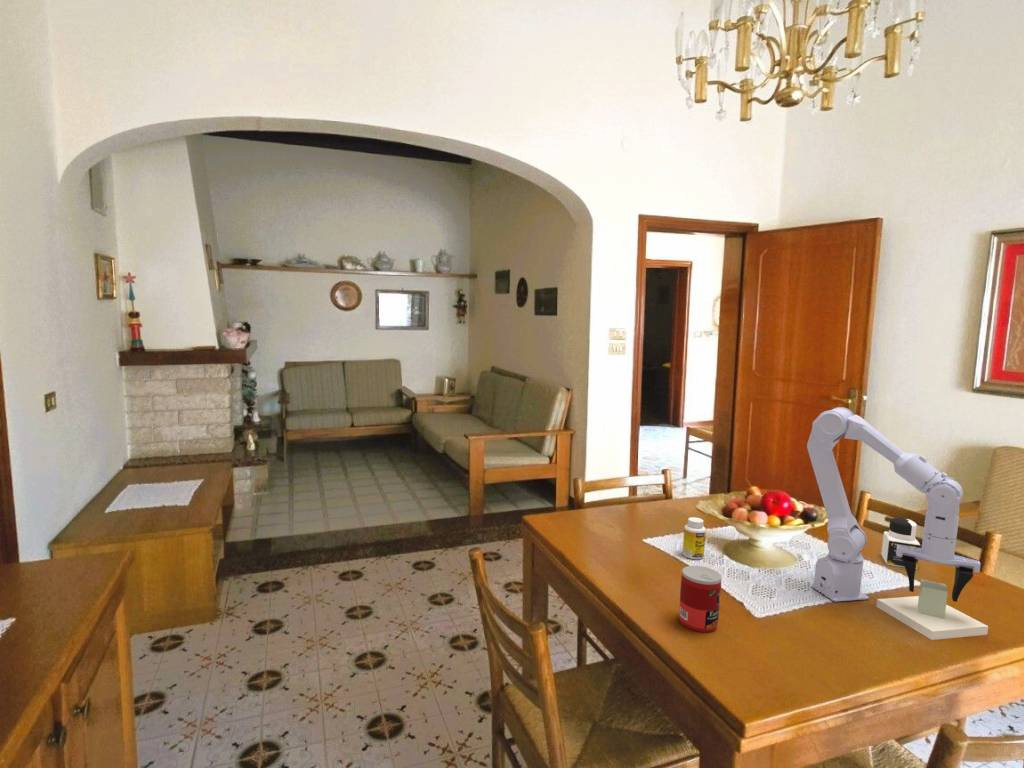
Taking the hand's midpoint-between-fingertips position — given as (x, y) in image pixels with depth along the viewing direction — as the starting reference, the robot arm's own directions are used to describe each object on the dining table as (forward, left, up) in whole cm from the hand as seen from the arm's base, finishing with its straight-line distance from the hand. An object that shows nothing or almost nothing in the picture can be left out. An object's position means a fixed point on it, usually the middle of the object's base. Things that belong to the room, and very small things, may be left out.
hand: (932, 594), depth 128 cm
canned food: (-52, +6, -6) cm, 53 cm away
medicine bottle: (+20, +28, -6) cm, 35 cm away
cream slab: (0, 0, -6) cm, 6 cm away
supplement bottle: (-35, +39, -6) cm, 53 cm away
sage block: (0, 0, -4) cm, 4 cm away
